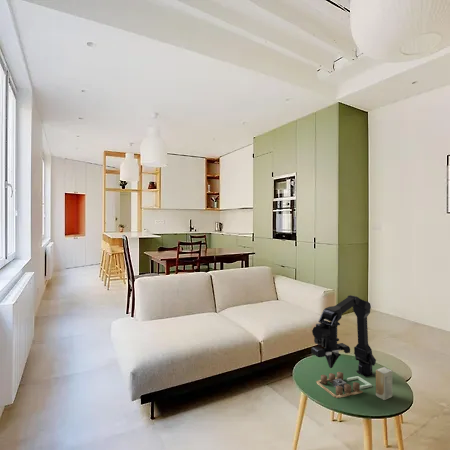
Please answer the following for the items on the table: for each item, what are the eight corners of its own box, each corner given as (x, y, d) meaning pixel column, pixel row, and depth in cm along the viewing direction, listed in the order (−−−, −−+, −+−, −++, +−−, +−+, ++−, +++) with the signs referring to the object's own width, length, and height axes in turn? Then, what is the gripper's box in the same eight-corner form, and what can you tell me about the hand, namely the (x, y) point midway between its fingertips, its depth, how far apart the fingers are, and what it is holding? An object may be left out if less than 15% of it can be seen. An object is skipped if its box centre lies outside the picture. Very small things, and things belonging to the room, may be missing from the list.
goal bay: (357, 377, 154) (357, 376, 154) (371, 386, 146) (371, 384, 146) (347, 380, 152) (347, 378, 152) (360, 389, 143) (360, 386, 143)
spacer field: (340, 377, 154) (340, 370, 154) (362, 392, 140) (362, 385, 140) (315, 382, 149) (315, 375, 149) (335, 398, 135) (336, 390, 135)
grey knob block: (339, 384, 148) (340, 377, 148) (346, 389, 144) (346, 382, 144) (332, 386, 146) (332, 379, 146) (339, 390, 142) (339, 383, 142)
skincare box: (383, 392, 141) (384, 366, 141) (392, 397, 137) (392, 370, 137) (375, 395, 138) (375, 369, 138) (383, 400, 134) (383, 373, 134)
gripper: (335, 328, 154) (335, 358, 154) (304, 331, 148) (304, 363, 148) (351, 335, 144) (350, 367, 143) (318, 339, 138) (318, 373, 137)
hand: (330, 367), depth 143 cm, fingers closed
